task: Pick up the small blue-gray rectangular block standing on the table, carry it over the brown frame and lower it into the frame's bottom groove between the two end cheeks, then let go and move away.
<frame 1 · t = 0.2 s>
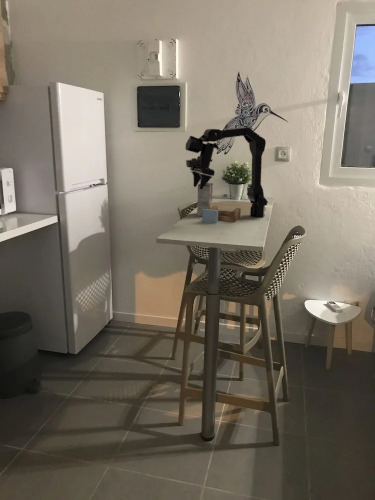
hand: (197, 188, 191), 15 cm above the table, tool pointing down, fingers open, 9 cm apart
brown frame: (224, 218, 198), on the table
coffee box: (204, 215, 207), on the table
blue-gray rectangular block: (210, 222, 190), on the table
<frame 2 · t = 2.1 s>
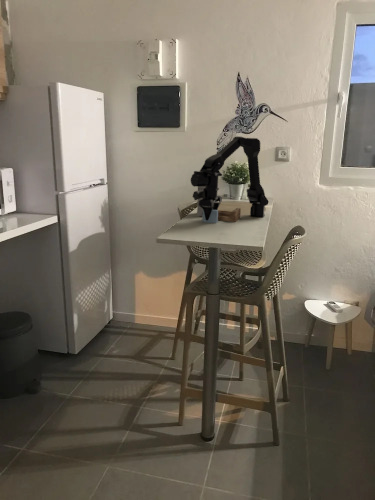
hand: (209, 218, 189), 2 cm above the table, tool pointing down, fingers open, 8 cm apart
nothing on the table moved.
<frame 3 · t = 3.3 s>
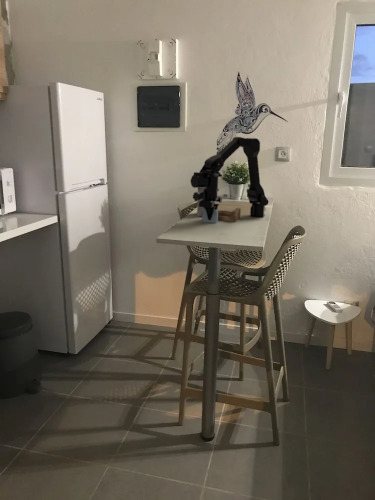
hand: (210, 219, 189), 1 cm above the table, tool pointing down, fingers closed on blue-gray rectangular block, 2 cm apart
blue-gray rectangular block: (209, 222, 190), on the table, touching gripper
everything else where it was.
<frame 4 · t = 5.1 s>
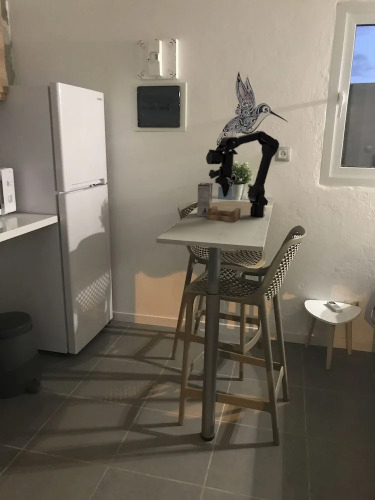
hand: (225, 196, 195), 11 cm above the table, tool pointing down, fingers closed on blue-gray rectangular block
blue-gray rectangular block: (225, 199, 196), point 10 cm above the table, touching gripper
everything else where it was.
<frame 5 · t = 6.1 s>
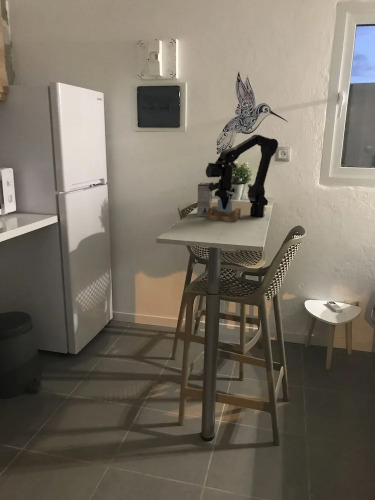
hand: (224, 208, 197), 5 cm above the table, tool pointing down, fingers closed on blue-gray rectangular block, 2 cm apart
blue-gray rectangular block: (224, 212, 198), point 3 cm above the table, touching gripper
everything else where it was.
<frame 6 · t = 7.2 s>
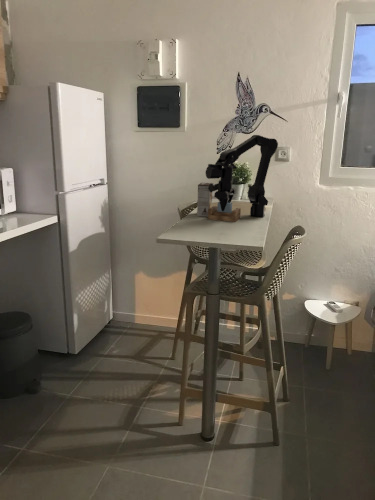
hand: (224, 209, 197), 4 cm above the table, tool pointing down, fingers open, 7 cm apart
blue-gray rectangular block: (224, 214, 198), point 2 cm above the table, touching brown frame
everything else where it was.
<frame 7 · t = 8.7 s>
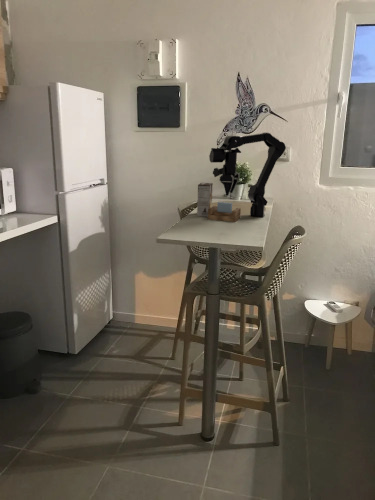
hand: (229, 194, 199), 12 cm above the table, tool pointing down, fingers open, 9 cm apart
nothing on the table moved.
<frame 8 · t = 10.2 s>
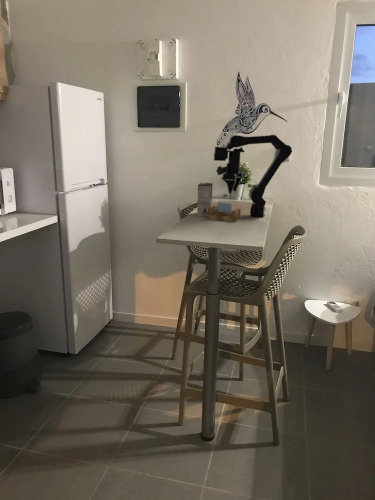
hand: (232, 192, 204), 12 cm above the table, tool pointing down, fingers open, 9 cm apart
nothing on the table moved.
at the end: blue-gray rectangular block 0.1 cm off-centre on the brown frame, point 2.0 cm above the brown frame's base; blue-gray rectangular block tilted 0°; the gripper is holding nothing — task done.
